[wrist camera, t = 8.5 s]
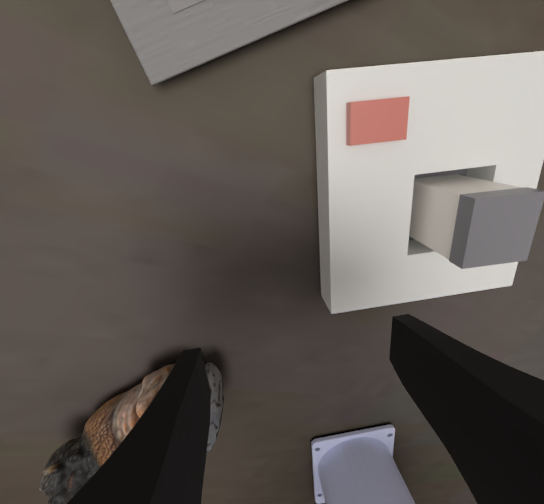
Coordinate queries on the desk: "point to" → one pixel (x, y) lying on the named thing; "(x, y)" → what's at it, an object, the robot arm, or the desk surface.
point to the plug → (474, 219)
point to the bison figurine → (114, 434)
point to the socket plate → (416, 167)
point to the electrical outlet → (203, 28)
